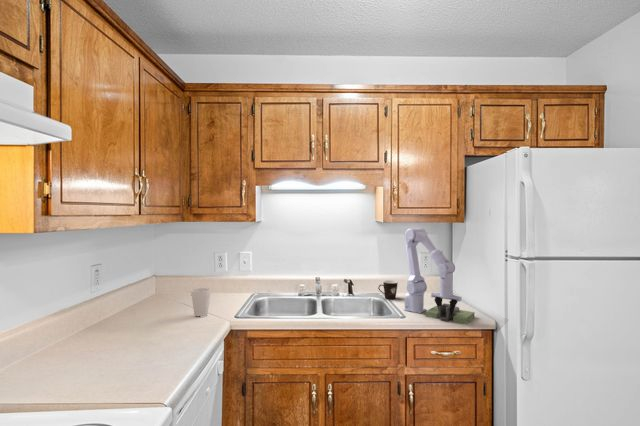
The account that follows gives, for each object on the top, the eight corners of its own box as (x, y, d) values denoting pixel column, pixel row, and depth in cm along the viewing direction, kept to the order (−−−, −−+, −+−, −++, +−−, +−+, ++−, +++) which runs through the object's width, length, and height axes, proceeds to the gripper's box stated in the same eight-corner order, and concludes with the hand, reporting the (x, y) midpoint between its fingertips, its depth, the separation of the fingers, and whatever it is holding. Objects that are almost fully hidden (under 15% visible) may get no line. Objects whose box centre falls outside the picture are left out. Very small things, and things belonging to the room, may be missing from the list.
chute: (438, 318, 192) (438, 306, 192) (444, 315, 199) (444, 303, 199) (448, 320, 189) (448, 308, 189) (453, 316, 196) (454, 304, 196)
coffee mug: (396, 296, 240) (396, 280, 240) (398, 300, 232) (398, 283, 231) (377, 296, 241) (377, 280, 241) (378, 299, 233) (378, 283, 233)
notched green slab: (425, 316, 199) (425, 308, 199) (435, 310, 210) (436, 302, 210) (465, 323, 187) (465, 315, 187) (474, 317, 198) (474, 309, 198)
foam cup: (201, 311, 205) (201, 287, 204) (214, 314, 200) (214, 289, 200) (187, 316, 197) (187, 290, 196) (200, 319, 192) (199, 292, 192)
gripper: (463, 286, 192) (463, 314, 192) (434, 283, 201) (434, 309, 201) (459, 289, 186) (458, 317, 187) (429, 285, 195) (429, 312, 196)
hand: (445, 313), depth 194 cm, fingers open, 5 cm apart
